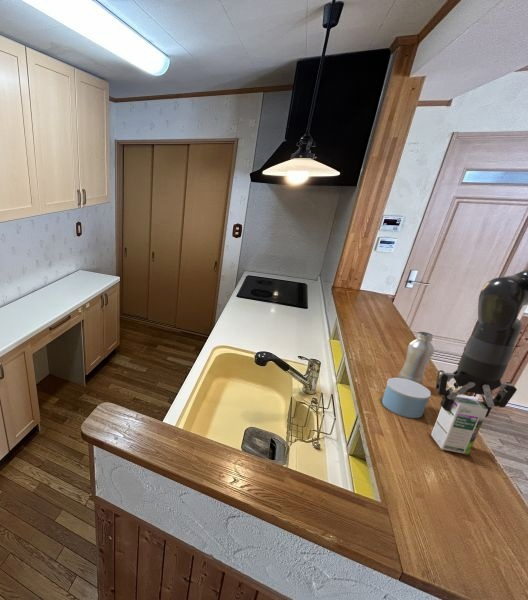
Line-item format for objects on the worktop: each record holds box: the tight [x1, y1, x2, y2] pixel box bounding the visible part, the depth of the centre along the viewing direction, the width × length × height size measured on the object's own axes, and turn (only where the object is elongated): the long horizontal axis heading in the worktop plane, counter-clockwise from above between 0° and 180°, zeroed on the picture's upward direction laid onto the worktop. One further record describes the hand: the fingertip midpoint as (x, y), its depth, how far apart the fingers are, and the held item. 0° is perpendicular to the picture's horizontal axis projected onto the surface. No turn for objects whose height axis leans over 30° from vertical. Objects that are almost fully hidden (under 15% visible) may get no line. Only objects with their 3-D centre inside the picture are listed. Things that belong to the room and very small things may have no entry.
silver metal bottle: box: [397, 331, 435, 385], centre depth 109 cm, size 6×7×20 cm
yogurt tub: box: [381, 377, 432, 419], centre depth 100 cm, size 10×10×8 cm
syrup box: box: [430, 394, 488, 455], centre depth 84 cm, size 6×6×14 cm
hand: (462, 412), depth 83 cm, fingers closed on syrup box, 6 cm apart
